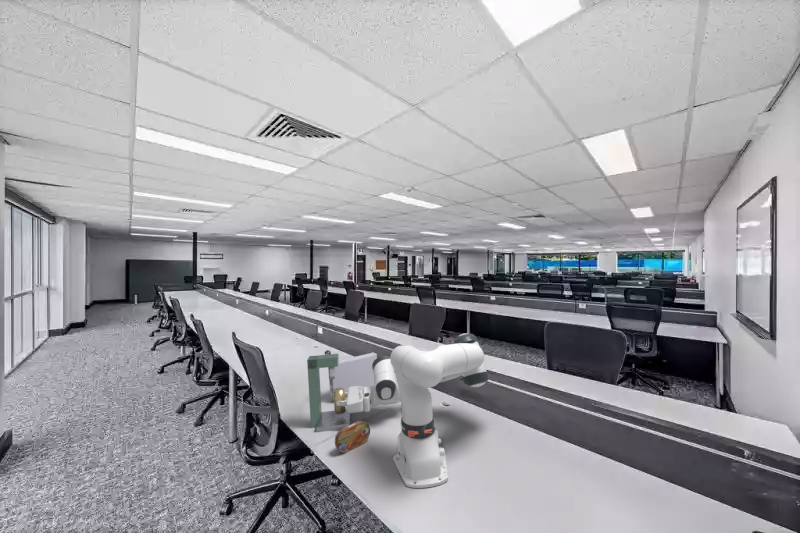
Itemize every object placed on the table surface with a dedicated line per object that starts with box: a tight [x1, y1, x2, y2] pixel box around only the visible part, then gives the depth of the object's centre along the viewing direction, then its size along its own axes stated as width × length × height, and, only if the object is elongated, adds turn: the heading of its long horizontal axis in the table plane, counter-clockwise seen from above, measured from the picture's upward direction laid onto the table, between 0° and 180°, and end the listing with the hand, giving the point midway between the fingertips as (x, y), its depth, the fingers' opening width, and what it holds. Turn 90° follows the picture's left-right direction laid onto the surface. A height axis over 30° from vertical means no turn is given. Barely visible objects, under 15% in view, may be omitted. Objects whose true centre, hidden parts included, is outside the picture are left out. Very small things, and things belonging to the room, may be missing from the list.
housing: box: [333, 388, 347, 414], centre depth 140 cm, size 5×5×10 cm
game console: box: [328, 352, 378, 400], centre depth 169 cm, size 6×27×20 cm, turn 124°
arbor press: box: [306, 350, 352, 433], centre depth 143 cm, size 21×17×30 cm
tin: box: [334, 420, 371, 454], centre depth 120 cm, size 15×3×8 cm, turn 132°
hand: (337, 399), depth 140 cm, fingers closed on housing, 5 cm apart
